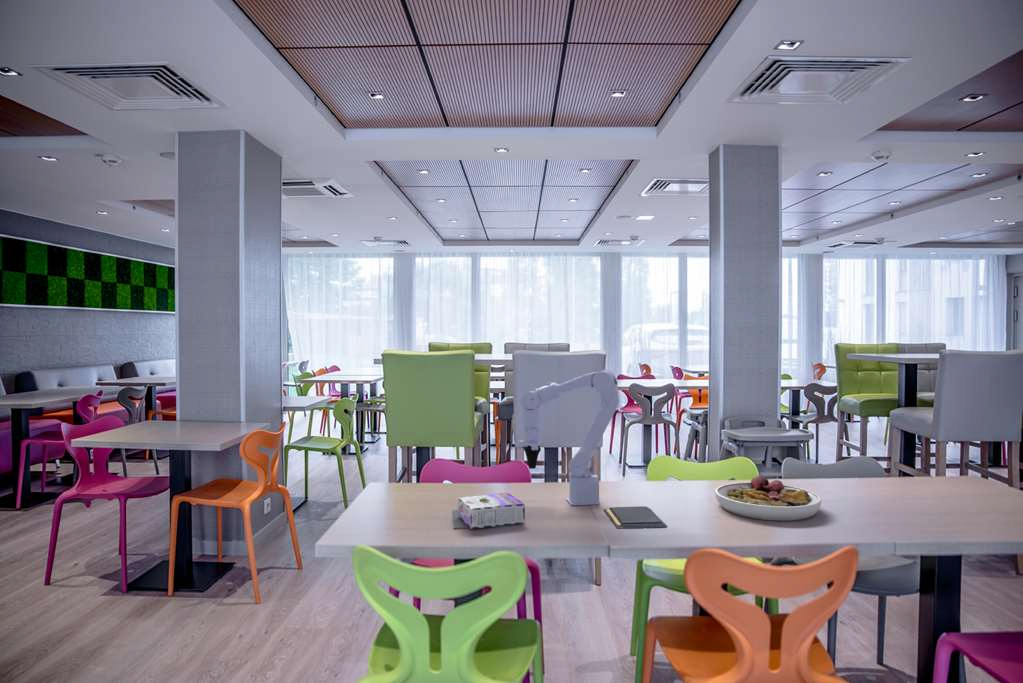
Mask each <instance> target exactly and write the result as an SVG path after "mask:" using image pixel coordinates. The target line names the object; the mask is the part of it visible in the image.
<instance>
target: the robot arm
mask: <svg viewBox="0 0 1023 683" xmlns="http://www.w3.org/2000/svg"><path fill="white" fill-rule="evenodd" d="M582 387H583V388H584V387H587V388H590V389H592V388H595V390H596V391H597V392H598V393H599V395H600V397H601V400H602V405H601V406H600V409H599V410H598V412H597V414H596V416H595V418H594V420H593V423H592V424H591V426H590V428H589V430H588V432H587V434H586V436H585V438H584V440H583V441H582V444H581V446H580V448H579V449H578V451H577V453H576V454H574V455H573V457H572V458H571V459H570V460H569V462H568V471H569V473H568V474H569V475H568V478H569V479H568V482H569V485H568V488H569V490H568V491H569V492H568V493H569V495H568V496H569V497H566V501H567V502H568V504H569V505H571V506H586V505H587V506H588V505H589V506H591V505H600V480H599V476H598V475H597V474H592V472H591V470H590V468H591V467H592V459H593V455H594V453H595V451H596V449H597V447H598V445H599V443H600V442H601V439H602V438H603V436H604V433H605V432H606V430H607V428H608V426H609V425H610V422H611V420H612V418H613V416H614V414H615V412H616V410H617V409H618V406H619V405H620V394H619V384H618V380H617V378H616V376H615V374H614V373H613V372H612V371H611V370H608V369H602V370H601V371H596V372H590V373H585V374H583V375H580V376H578V377H575V378H572V379H571V380H568V381H565V382H563V383H560V384H558V383H557V382H551V381H549V382H546V385H544V386H541V387H534V388H533V390H531V391H530V390H529V391H526V392H525V393H523V395H522V396H521V398H520V404H521V406H522V440H519V443H520V444H523V445H524V446H522V449H523V451H524V453H525V457H526V462H527V466H528V468H529V469H531V470H533V469H536V467H537V461H538V459H539V458H538V457H539V454H540V453H541V449H542V448H541V446H540V444H542V440H541V412H540V410H541V409H540V406H545V405H546V404H549V403H552V402H555V401H558V400H560V399H561V398H562V395H563V394H564V393H567V392H571V391H574V390H576V389H580V388H582ZM525 445H527V446H525Z"/></svg>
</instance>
